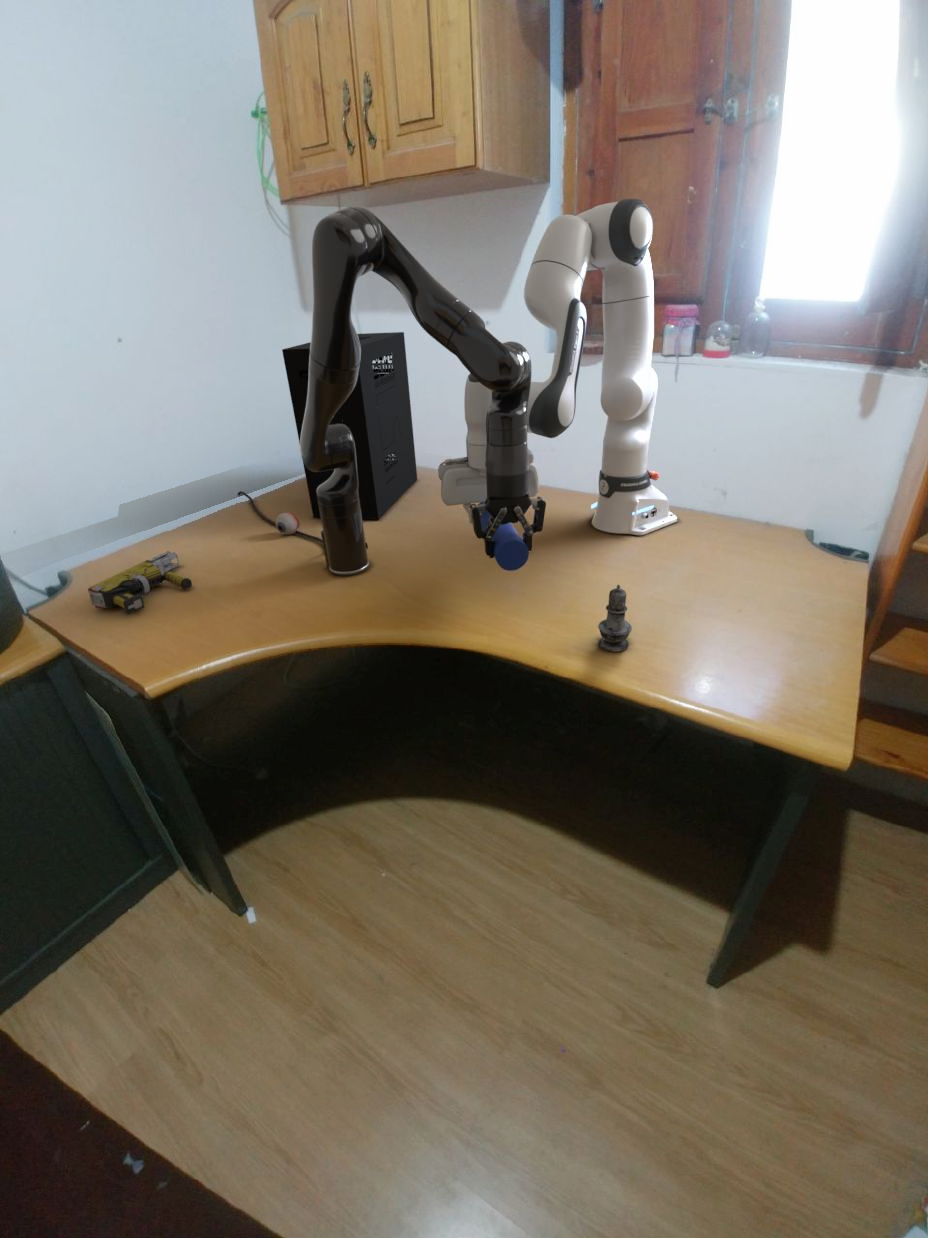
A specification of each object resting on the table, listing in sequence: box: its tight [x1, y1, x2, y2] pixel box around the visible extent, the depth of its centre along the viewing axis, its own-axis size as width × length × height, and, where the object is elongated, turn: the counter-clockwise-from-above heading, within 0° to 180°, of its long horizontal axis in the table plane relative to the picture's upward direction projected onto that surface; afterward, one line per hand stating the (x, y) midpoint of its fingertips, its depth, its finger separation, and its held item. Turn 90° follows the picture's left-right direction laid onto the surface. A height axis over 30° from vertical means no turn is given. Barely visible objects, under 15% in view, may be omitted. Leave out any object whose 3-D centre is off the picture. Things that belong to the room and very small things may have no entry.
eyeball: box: [275, 511, 300, 536], centre depth 163 cm, size 6×6×6 cm
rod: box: [477, 502, 530, 572], centre depth 121 cm, size 23×6×6 cm, turn 10°
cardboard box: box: [281, 331, 418, 521], centre depth 178 cm, size 38×20×45 cm, turn 167°
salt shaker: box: [597, 584, 633, 653], centre depth 106 cm, size 6×6×12 cm
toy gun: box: [87, 550, 193, 615], centre depth 138 cm, size 5×24×15 cm
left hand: (508, 554), depth 114 cm, fingers closed on rod, 6 cm apart
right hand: (490, 520), depth 128 cm, fingers closed on rod, 6 cm apart
